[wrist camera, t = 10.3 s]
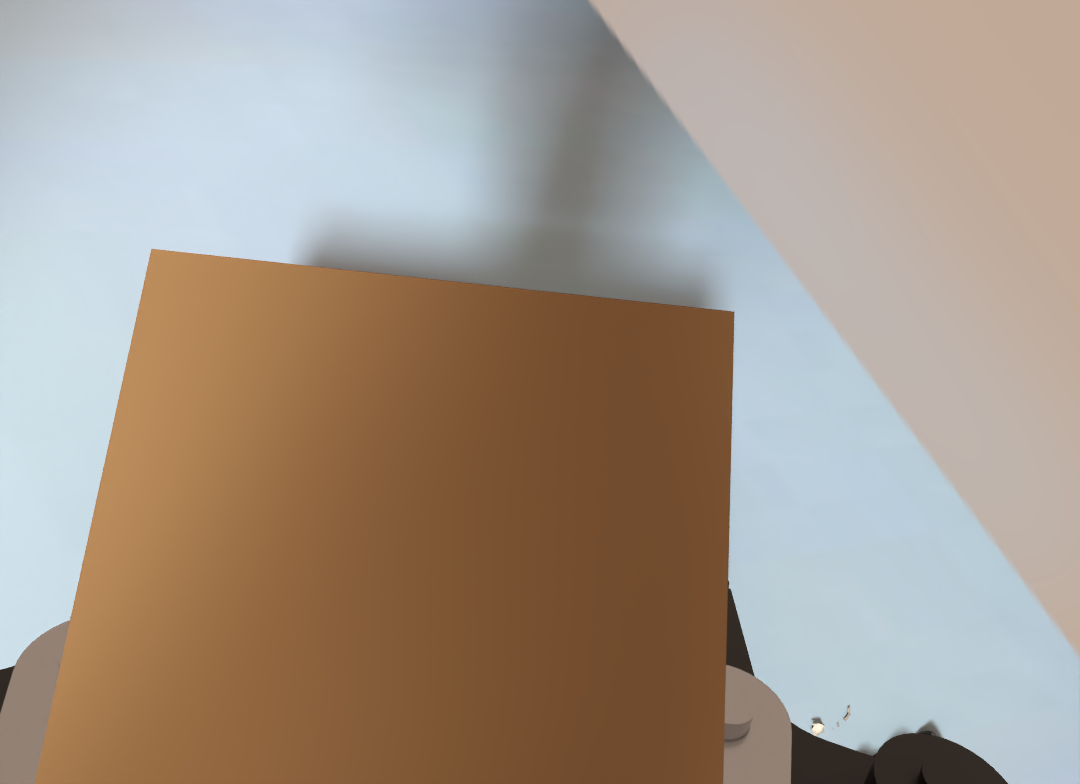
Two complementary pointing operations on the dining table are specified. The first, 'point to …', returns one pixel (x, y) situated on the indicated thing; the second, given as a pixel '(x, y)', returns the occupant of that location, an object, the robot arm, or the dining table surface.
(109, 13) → the dining table surface
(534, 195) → the dining table surface
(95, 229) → the dining table surface
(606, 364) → the wooden peg
